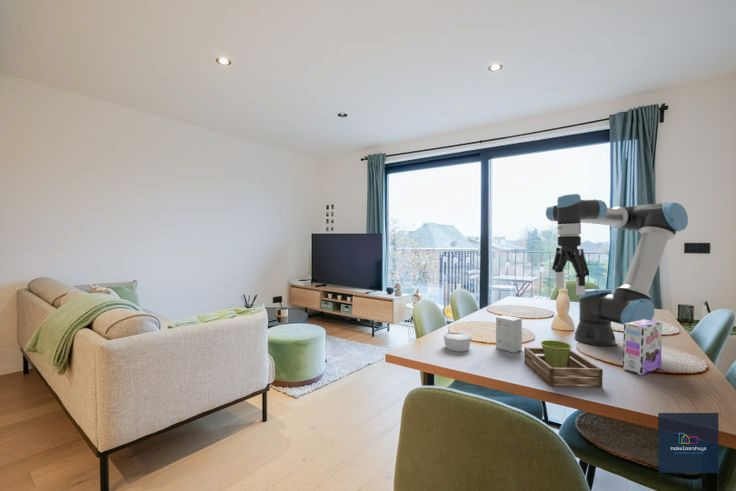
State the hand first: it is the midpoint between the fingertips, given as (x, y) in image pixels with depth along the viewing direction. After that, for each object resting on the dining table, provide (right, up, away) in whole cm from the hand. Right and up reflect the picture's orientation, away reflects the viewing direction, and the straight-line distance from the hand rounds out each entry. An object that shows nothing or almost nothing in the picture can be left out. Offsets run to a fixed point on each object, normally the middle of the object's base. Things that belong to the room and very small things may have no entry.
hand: (569, 291), depth 128 cm
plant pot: (-11, -26, -11) cm, 30 cm away
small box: (-19, -26, +11) cm, 33 cm away
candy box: (+19, -26, -10) cm, 34 cm away
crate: (-12, -26, -14) cm, 32 cm away
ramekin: (-40, -26, +12) cm, 49 cm away
